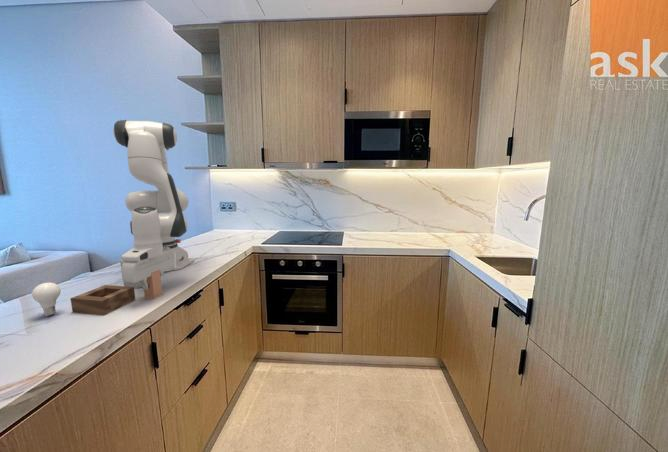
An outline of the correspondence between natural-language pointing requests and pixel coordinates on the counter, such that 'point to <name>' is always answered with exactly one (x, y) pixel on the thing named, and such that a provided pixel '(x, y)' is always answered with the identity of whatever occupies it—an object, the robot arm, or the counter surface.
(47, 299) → the lightbulb
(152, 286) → the terracotta peg
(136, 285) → the skincare box
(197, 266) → the counter surface
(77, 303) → the walnut socket block
